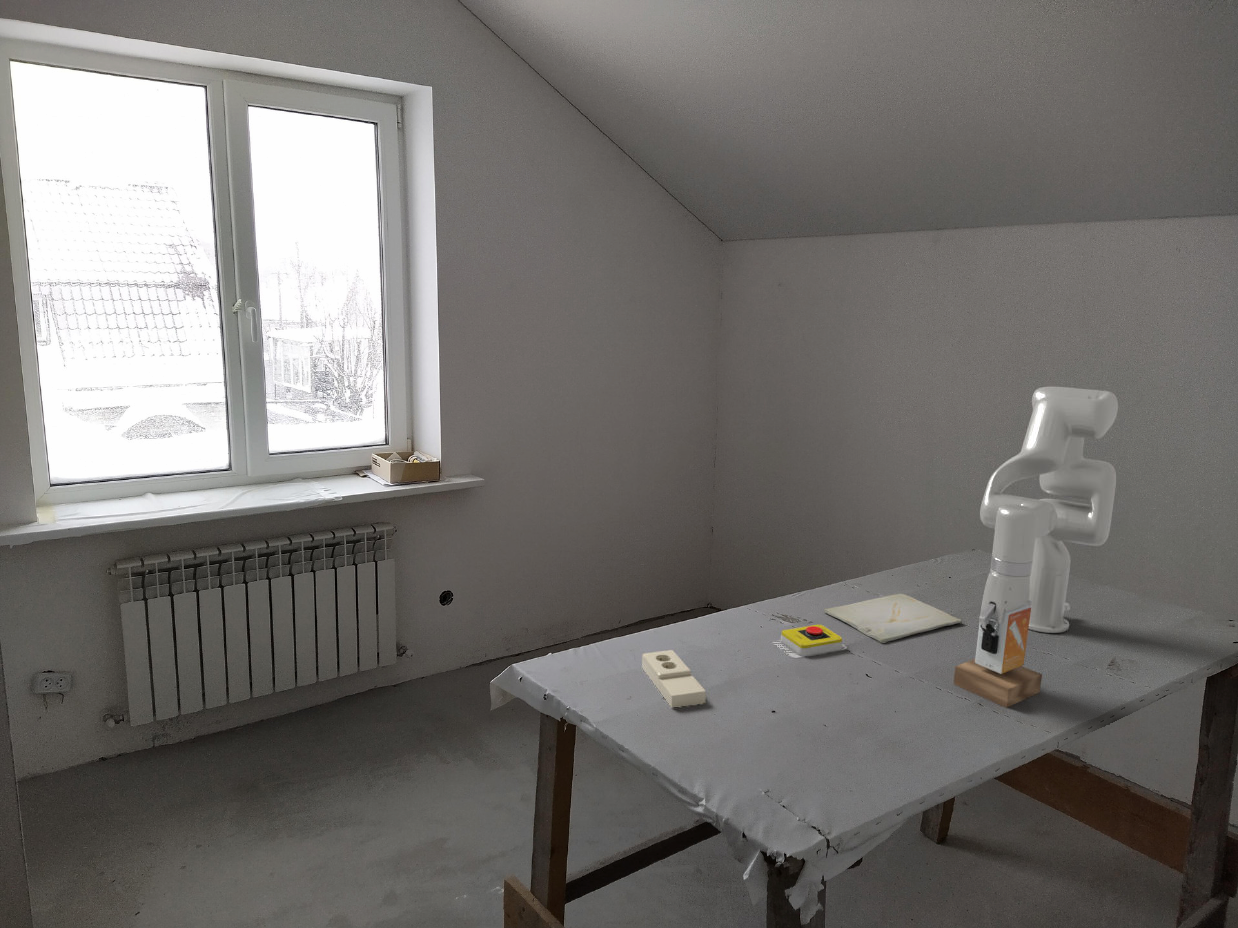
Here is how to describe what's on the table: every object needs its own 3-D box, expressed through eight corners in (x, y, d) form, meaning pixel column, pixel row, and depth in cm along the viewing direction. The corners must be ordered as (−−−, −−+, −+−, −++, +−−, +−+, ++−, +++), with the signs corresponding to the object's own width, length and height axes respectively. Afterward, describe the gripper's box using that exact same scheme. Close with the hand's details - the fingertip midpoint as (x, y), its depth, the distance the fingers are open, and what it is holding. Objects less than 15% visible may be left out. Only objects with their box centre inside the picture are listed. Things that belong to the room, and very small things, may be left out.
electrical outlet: (671, 691, 168) (641, 652, 185) (671, 710, 169) (641, 670, 186) (705, 686, 170) (673, 648, 187) (705, 705, 171) (672, 666, 188)
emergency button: (850, 633, 196) (794, 642, 191) (848, 650, 197) (793, 661, 192) (825, 617, 205) (771, 626, 199) (824, 635, 206) (770, 644, 200)
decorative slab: (883, 647, 200) (884, 639, 199) (820, 615, 218) (821, 608, 217) (963, 625, 213) (964, 618, 212) (898, 597, 231) (898, 590, 230)
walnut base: (986, 669, 188) (988, 652, 187) (1039, 692, 178) (1042, 674, 177) (953, 683, 181) (955, 666, 180) (1006, 707, 171) (1008, 689, 170)
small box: (1001, 675, 174) (1008, 614, 171) (973, 663, 179) (980, 604, 176) (1024, 665, 178) (1032, 606, 175) (997, 654, 183) (1003, 596, 180)
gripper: (1018, 553, 182) (1008, 630, 185) (968, 568, 172) (959, 649, 176) (1052, 563, 175) (1042, 643, 179) (1003, 579, 166) (993, 663, 170)
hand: (1001, 646), depth 178 cm, fingers closed on small box, 8 cm apart
